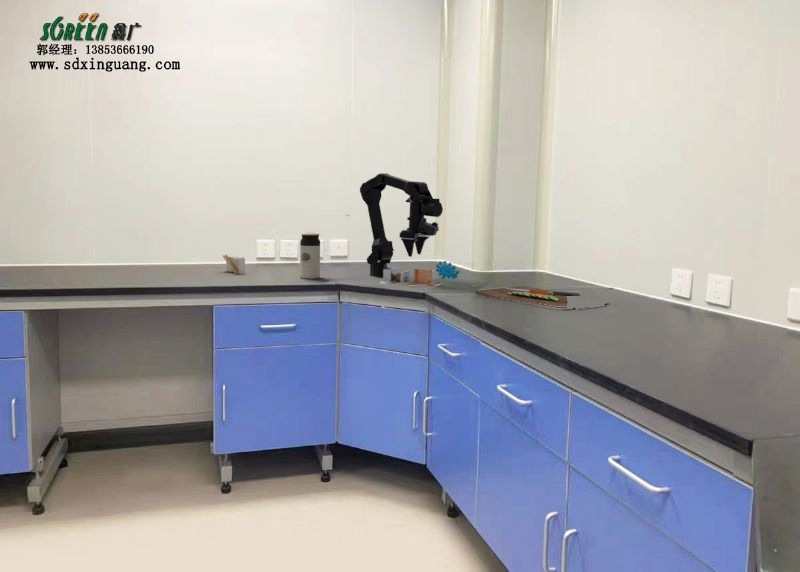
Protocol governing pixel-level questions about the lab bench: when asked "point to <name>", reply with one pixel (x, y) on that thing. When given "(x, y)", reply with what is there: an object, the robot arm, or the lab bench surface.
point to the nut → (397, 277)
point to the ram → (417, 276)
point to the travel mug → (310, 256)
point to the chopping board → (529, 295)
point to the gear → (447, 270)
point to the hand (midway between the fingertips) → (414, 255)
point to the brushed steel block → (389, 274)
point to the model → (235, 264)
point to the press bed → (416, 284)
